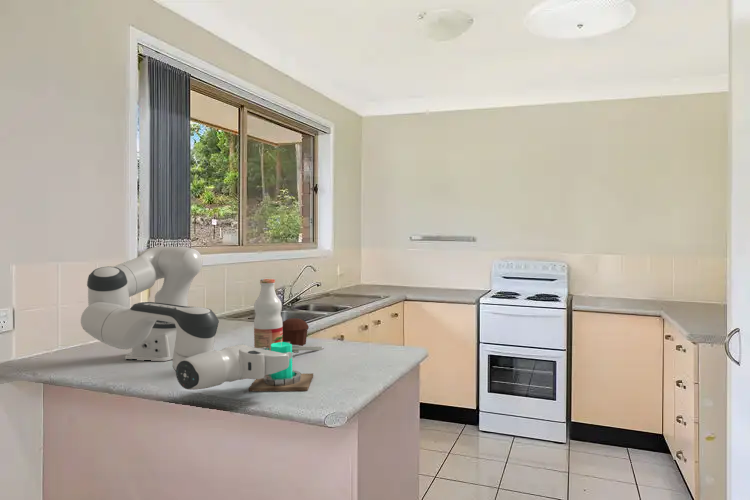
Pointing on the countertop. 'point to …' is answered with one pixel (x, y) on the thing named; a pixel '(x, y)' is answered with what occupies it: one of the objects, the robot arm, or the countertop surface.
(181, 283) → the robot arm
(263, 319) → the fruit juice
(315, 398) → the countertop surface
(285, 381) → the ring collar
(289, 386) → the ring board
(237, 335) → the countertop surface
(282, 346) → the candle
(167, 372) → the countertop surface
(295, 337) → the muffin
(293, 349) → the caliper
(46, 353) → the countertop surface
